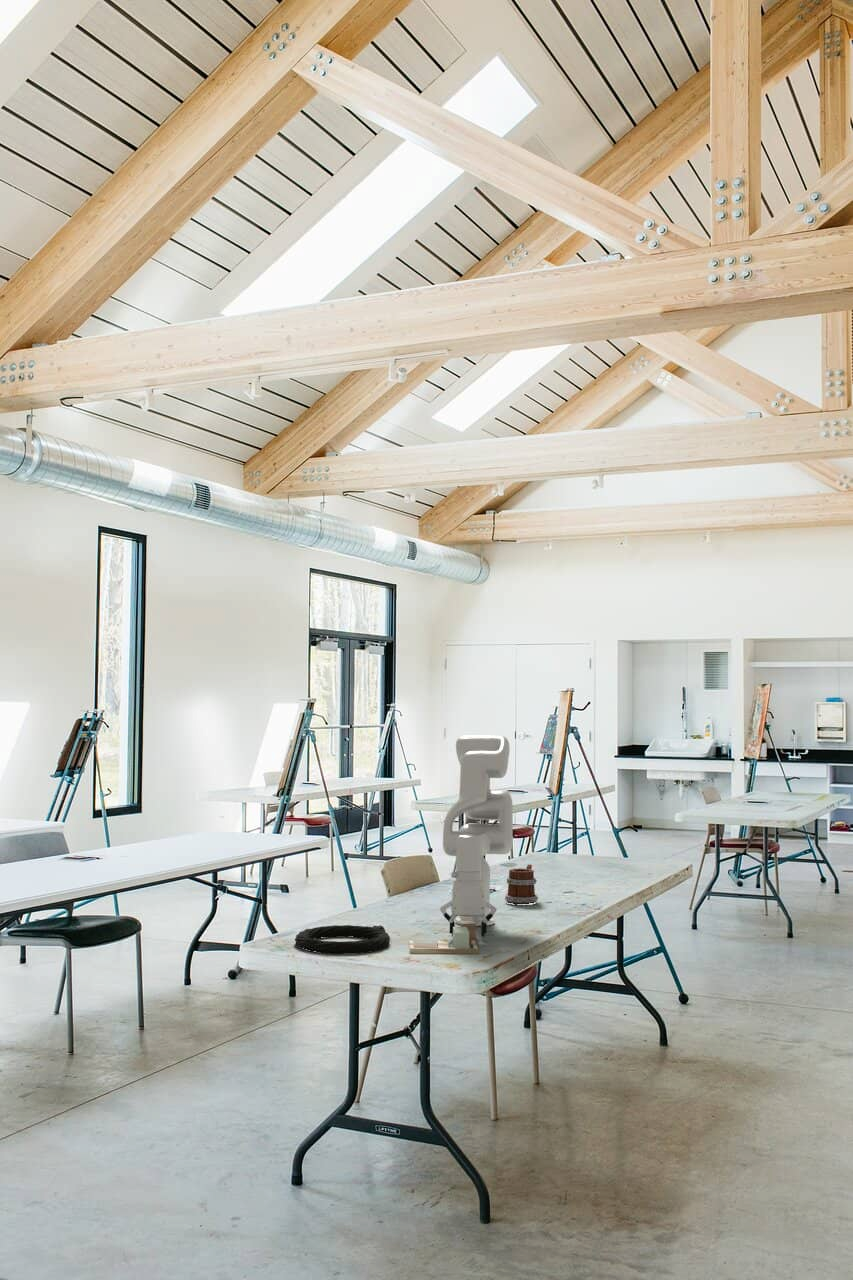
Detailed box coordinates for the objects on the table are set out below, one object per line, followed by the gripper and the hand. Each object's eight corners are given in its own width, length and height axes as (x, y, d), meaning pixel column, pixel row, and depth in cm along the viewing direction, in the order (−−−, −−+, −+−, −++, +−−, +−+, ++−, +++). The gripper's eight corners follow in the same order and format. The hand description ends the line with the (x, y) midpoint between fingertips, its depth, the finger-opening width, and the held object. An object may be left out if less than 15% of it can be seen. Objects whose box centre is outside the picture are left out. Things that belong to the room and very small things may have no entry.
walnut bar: (460, 937, 332) (460, 920, 332) (473, 937, 332) (473, 920, 333) (462, 943, 323) (462, 926, 324) (475, 943, 323) (476, 926, 324)
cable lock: (274, 932, 318) (349, 919, 340) (274, 946, 318) (349, 931, 340) (341, 946, 300) (415, 931, 322) (341, 961, 300) (415, 944, 322)
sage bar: (452, 944, 320) (452, 926, 321) (466, 944, 320) (466, 926, 321) (454, 950, 311) (455, 932, 312) (469, 950, 312) (469, 932, 312)
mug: (498, 904, 390) (501, 861, 394) (512, 905, 403) (515, 863, 406) (529, 906, 385) (532, 863, 389) (543, 908, 398) (545, 865, 401)
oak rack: (409, 943, 321) (409, 939, 322) (474, 944, 322) (474, 939, 322) (410, 953, 308) (410, 948, 309) (477, 953, 309) (477, 949, 309)
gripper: (439, 878, 325) (439, 938, 324) (498, 878, 326) (498, 938, 324) (438, 874, 333) (438, 933, 331) (496, 875, 333) (496, 933, 332)
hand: (467, 935), depth 328 cm, fingers open, 8 cm apart
